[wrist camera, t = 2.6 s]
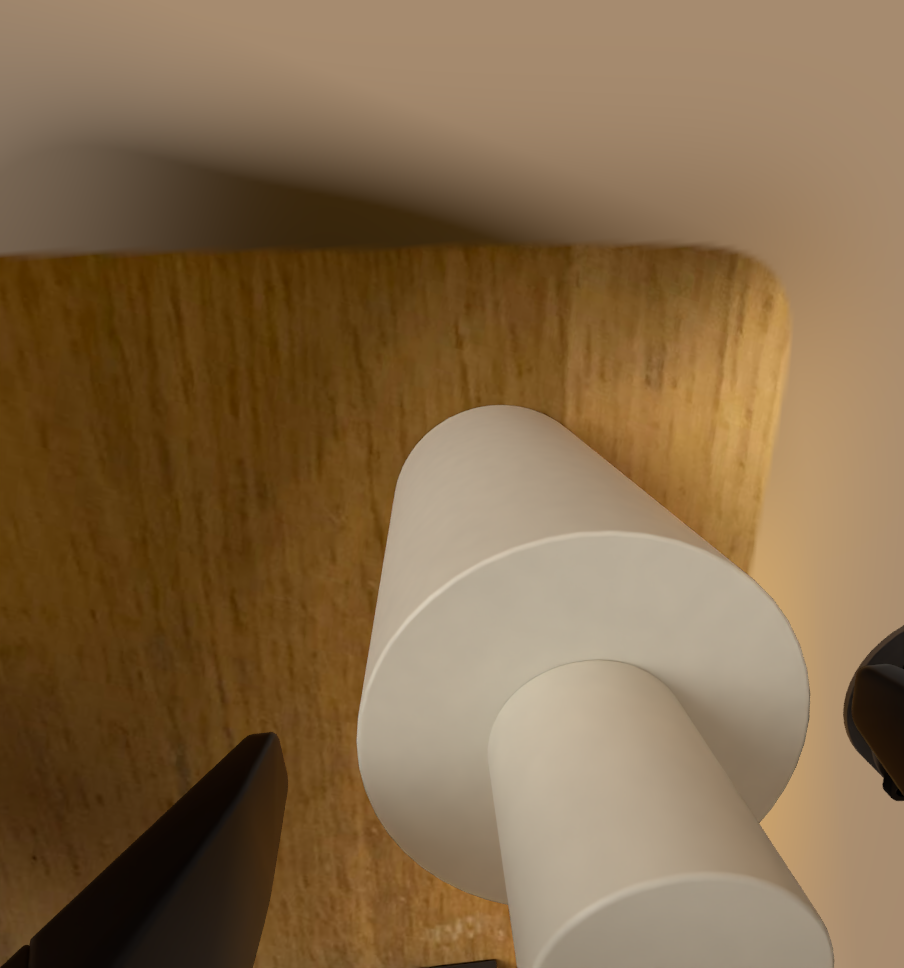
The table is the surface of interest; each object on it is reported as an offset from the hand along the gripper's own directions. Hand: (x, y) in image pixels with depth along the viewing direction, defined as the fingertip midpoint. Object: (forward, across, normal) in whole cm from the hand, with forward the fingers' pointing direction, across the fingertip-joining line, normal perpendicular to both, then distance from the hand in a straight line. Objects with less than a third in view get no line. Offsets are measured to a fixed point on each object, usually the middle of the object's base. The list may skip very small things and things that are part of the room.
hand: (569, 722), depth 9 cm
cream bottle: (+9, 0, 0) cm, 9 cm away
